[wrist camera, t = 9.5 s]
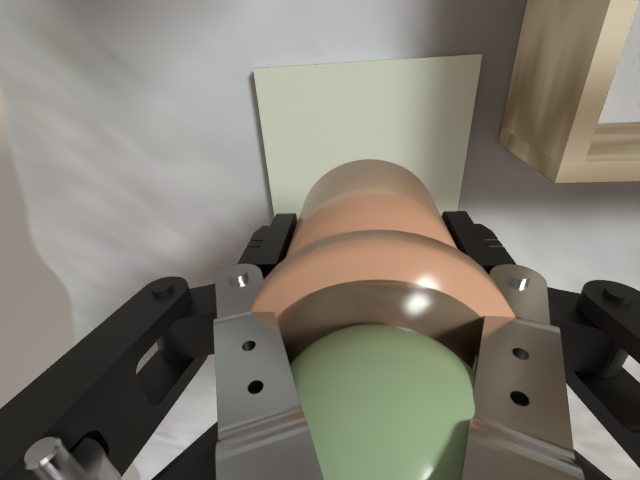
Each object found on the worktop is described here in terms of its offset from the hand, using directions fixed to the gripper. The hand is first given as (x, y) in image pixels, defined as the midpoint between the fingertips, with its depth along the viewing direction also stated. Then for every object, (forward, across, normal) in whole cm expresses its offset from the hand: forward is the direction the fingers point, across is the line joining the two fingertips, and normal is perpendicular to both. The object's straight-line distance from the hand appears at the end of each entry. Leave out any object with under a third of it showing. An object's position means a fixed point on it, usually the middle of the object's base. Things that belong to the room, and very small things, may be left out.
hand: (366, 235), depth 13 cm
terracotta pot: (+1, 0, 0) cm, 1 cm away
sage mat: (+8, 0, 0) cm, 8 cm away
